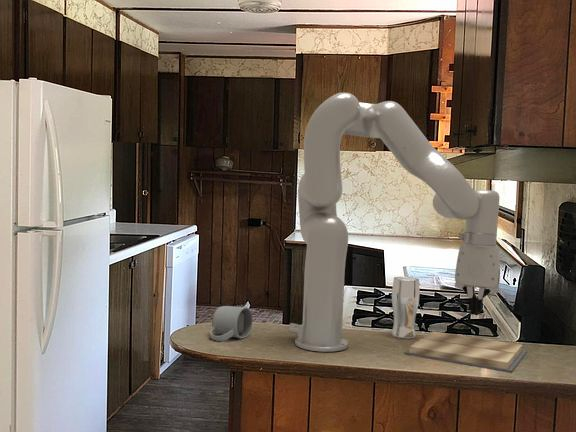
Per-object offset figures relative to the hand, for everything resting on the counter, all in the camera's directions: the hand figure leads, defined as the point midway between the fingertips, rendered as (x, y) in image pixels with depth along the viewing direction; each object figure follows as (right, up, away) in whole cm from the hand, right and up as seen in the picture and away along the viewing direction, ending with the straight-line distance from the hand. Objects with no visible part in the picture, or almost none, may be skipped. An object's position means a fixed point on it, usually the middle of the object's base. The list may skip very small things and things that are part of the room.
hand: (474, 313), depth 162 cm
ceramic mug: (-61, -6, 0) cm, 61 cm away
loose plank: (-2, -8, -2) cm, 8 cm away
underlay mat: (-4, -8, -6) cm, 11 cm away
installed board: (-6, -9, -11) cm, 15 cm away
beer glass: (-16, -7, +9) cm, 20 cm away
